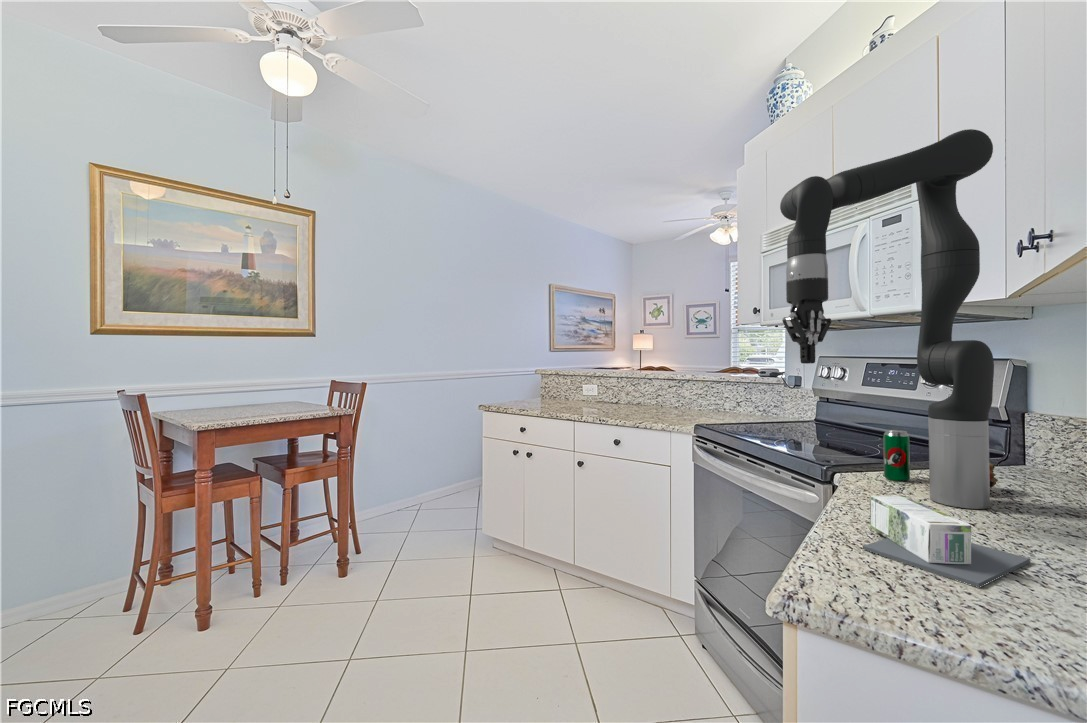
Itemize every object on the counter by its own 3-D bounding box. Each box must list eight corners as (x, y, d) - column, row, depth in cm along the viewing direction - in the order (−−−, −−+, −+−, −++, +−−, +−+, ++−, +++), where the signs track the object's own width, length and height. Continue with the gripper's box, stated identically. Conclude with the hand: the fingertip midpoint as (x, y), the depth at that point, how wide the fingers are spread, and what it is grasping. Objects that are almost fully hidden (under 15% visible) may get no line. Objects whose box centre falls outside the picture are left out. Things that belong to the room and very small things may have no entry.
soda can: (915, 482, 111) (914, 432, 111) (894, 482, 111) (893, 432, 111) (899, 477, 116) (898, 429, 116) (879, 477, 116) (878, 429, 116)
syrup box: (904, 529, 79) (975, 566, 65) (867, 528, 80) (930, 564, 65) (904, 495, 79) (975, 525, 65) (867, 495, 80) (930, 524, 65)
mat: (916, 531, 79) (916, 528, 79) (1030, 562, 67) (1030, 558, 67) (862, 549, 72) (862, 545, 72) (978, 588, 60) (978, 583, 60)
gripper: (803, 273, 89) (805, 363, 89) (844, 278, 95) (845, 363, 95) (769, 280, 96) (770, 363, 96) (809, 284, 102) (810, 363, 102)
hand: (807, 363), depth 95 cm, fingers closed
